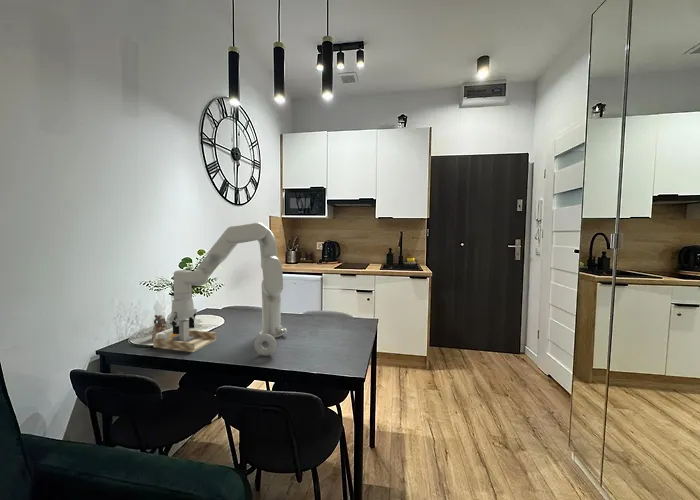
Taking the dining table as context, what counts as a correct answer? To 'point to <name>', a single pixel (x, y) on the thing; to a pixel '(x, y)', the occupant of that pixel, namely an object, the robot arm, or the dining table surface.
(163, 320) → the figurine
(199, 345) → the wooden tray
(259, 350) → the donut
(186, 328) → the striker
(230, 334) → the dining table surface
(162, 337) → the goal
